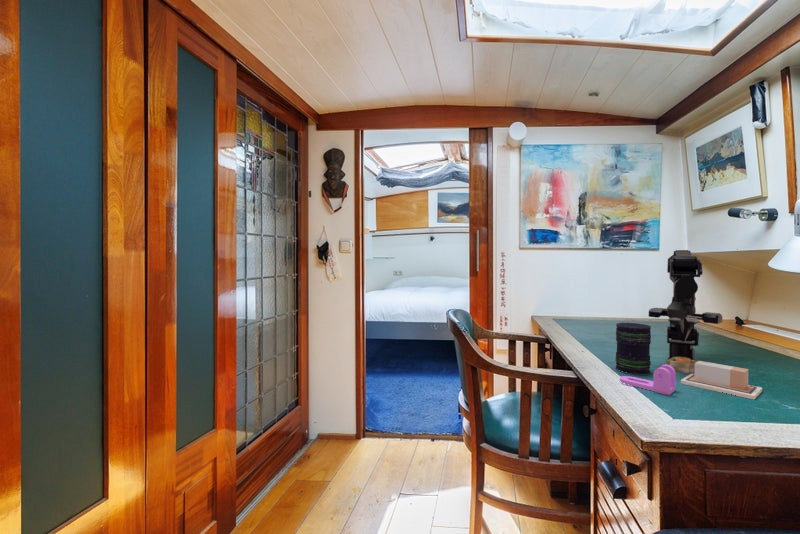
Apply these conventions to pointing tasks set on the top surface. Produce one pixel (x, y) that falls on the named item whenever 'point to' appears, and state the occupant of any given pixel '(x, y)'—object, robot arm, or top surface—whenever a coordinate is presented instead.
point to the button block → (682, 366)
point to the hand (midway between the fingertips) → (683, 341)
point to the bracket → (655, 380)
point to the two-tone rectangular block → (721, 375)
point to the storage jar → (633, 348)
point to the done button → (683, 360)
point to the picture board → (723, 388)
